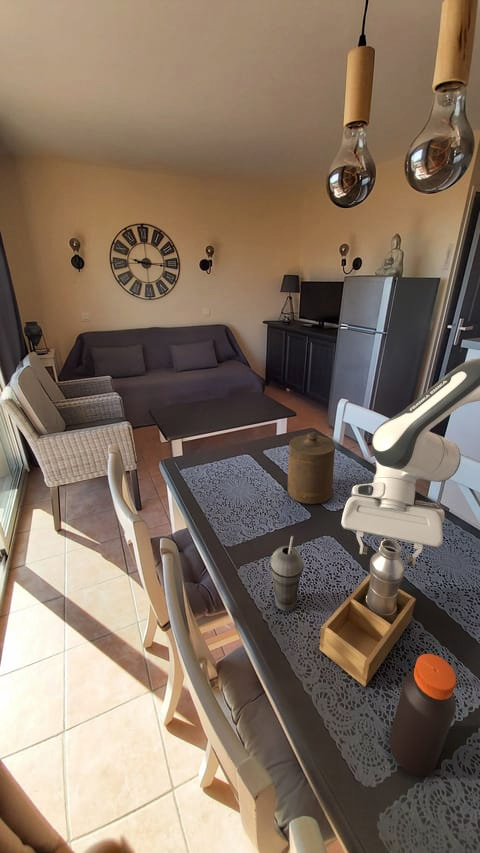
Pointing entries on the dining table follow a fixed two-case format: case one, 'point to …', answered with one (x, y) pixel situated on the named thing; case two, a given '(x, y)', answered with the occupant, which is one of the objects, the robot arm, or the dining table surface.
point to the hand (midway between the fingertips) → (386, 560)
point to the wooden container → (310, 468)
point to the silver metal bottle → (385, 580)
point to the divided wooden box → (363, 633)
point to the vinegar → (423, 715)
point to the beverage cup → (286, 575)
